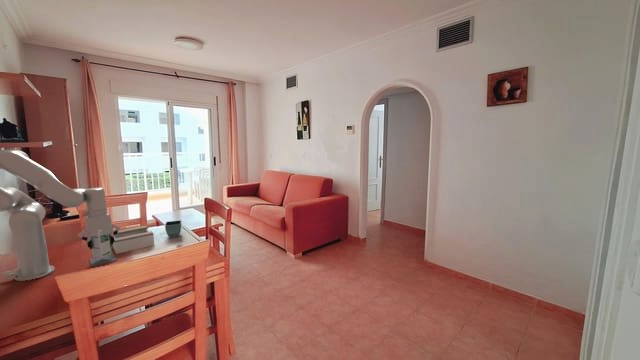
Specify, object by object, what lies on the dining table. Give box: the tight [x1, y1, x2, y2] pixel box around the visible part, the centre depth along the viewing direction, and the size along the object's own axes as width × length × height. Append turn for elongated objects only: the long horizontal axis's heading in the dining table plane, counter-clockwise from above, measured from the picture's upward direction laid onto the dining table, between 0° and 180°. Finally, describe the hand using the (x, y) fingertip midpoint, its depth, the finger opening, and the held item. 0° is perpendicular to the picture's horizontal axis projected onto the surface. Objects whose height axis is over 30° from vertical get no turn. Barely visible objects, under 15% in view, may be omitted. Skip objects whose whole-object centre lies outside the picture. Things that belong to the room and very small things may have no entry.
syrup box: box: [90, 229, 114, 258], centre depth 135 cm, size 6×6×14 cm
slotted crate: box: [112, 225, 155, 255], centre depth 156 cm, size 18×18×8 cm
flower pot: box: [164, 219, 182, 239], centre depth 171 cm, size 9×9×9 cm
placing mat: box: [89, 253, 118, 267], centre depth 136 cm, size 10×10×1 cm
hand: (101, 245), depth 135 cm, fingers closed on syrup box, 7 cm apart
